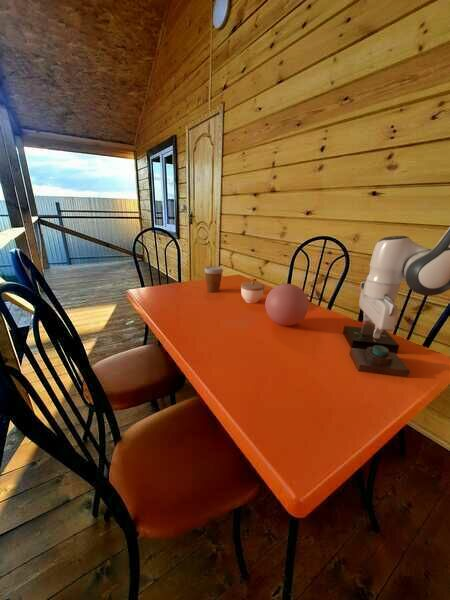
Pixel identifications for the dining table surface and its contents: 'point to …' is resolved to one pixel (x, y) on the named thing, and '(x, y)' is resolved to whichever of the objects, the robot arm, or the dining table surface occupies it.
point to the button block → (378, 363)
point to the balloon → (286, 304)
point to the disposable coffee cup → (213, 278)
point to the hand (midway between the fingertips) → (370, 331)
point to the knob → (367, 328)
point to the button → (380, 351)
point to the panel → (369, 339)
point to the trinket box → (252, 291)
